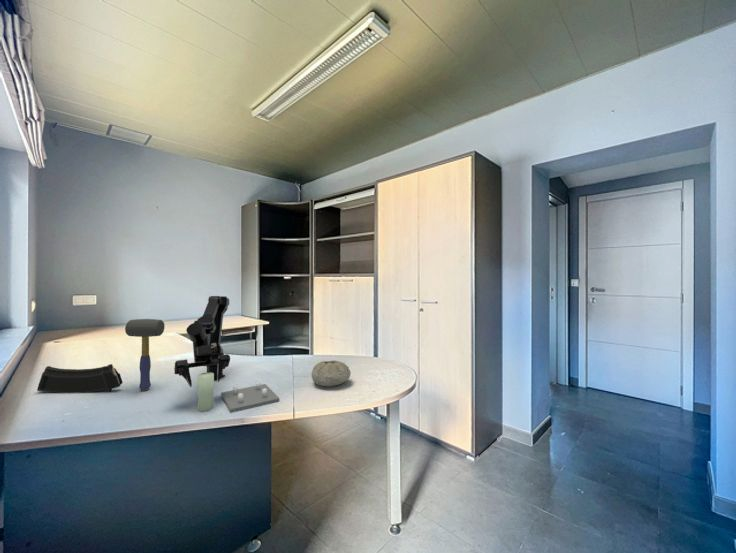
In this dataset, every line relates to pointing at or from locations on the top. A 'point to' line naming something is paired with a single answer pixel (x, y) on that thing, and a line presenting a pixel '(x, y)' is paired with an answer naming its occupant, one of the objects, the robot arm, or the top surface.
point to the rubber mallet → (145, 344)
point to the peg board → (248, 397)
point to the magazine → (79, 380)
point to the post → (205, 391)
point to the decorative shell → (330, 373)
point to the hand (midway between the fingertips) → (205, 383)
